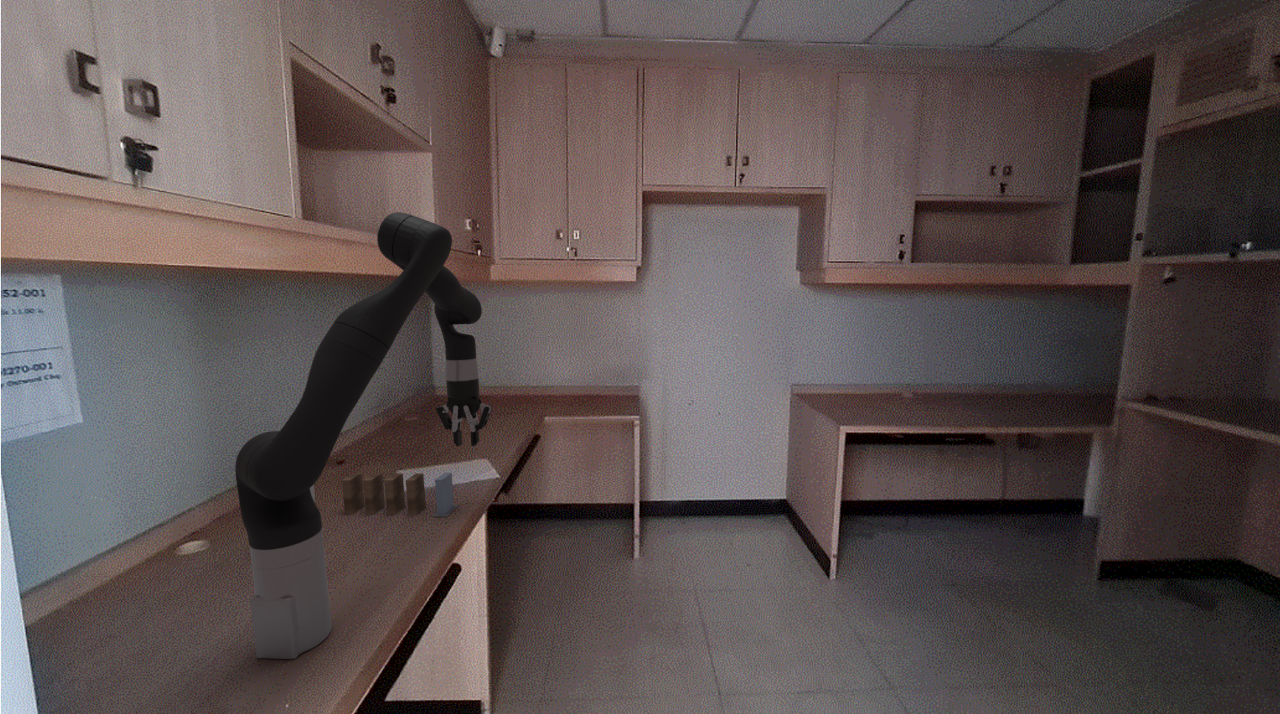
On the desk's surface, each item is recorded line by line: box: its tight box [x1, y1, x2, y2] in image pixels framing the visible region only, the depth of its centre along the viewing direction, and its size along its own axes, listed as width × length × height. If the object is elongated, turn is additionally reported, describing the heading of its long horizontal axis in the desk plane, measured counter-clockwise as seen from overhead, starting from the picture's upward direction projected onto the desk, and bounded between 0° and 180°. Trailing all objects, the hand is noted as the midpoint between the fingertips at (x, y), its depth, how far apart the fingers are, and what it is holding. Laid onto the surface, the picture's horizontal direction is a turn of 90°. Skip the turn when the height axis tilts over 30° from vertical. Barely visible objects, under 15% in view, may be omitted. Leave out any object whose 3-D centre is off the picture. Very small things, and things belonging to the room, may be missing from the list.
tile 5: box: [341, 472, 365, 516], centre depth 128 cm, size 5×2×9 cm, turn 176°
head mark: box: [431, 504, 460, 518], centre depth 127 cm, size 7×4×1 cm, turn 176°
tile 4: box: [362, 472, 386, 516], centre depth 127 cm, size 5×2×9 cm, turn 176°
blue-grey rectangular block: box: [434, 472, 455, 515], centre depth 126 cm, size 5×2×9 cm, turn 176°
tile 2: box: [405, 472, 427, 516], centre depth 126 cm, size 5×2×9 cm, turn 176°
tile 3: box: [383, 472, 406, 516], centre depth 127 cm, size 5×2×9 cm, turn 176°
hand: (466, 445), depth 124 cm, fingers open, 3 cm apart
